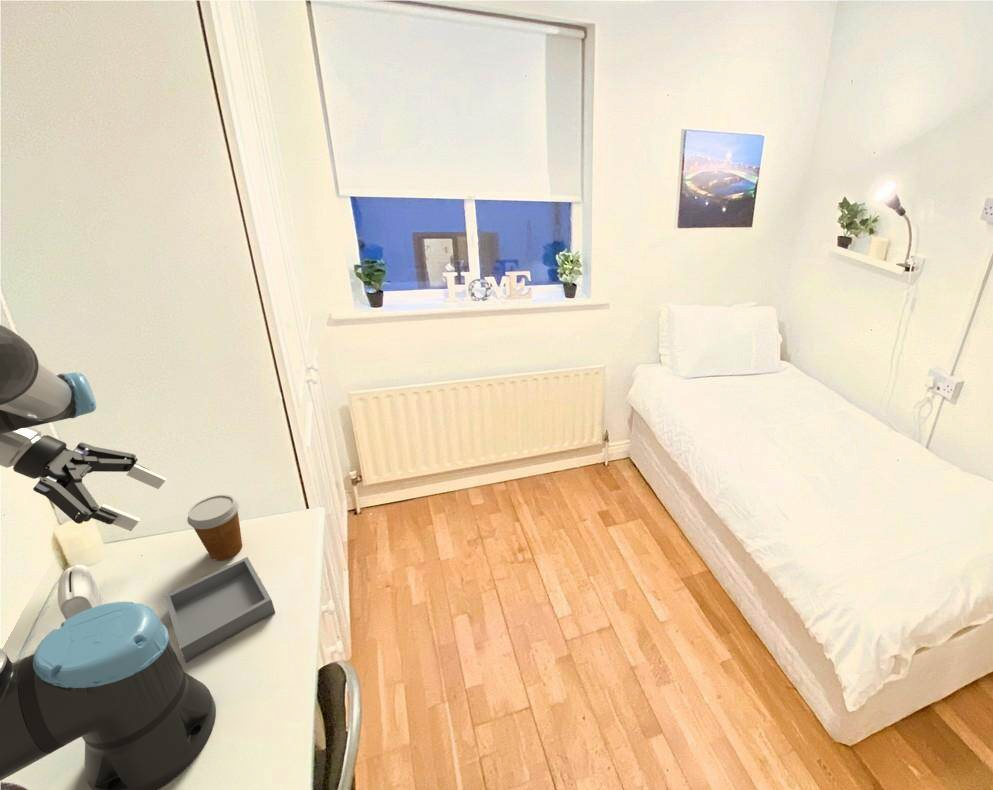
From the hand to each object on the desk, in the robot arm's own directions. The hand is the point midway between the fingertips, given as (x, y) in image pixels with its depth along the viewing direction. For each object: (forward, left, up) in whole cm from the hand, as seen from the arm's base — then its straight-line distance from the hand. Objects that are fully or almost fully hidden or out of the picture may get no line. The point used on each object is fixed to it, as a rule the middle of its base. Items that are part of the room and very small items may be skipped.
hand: (150, 503), depth 92 cm
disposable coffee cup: (-5, -9, -15) cm, 19 cm away
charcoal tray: (-22, -4, -15) cm, 27 cm away
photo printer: (-10, +14, -15) cm, 23 cm away
